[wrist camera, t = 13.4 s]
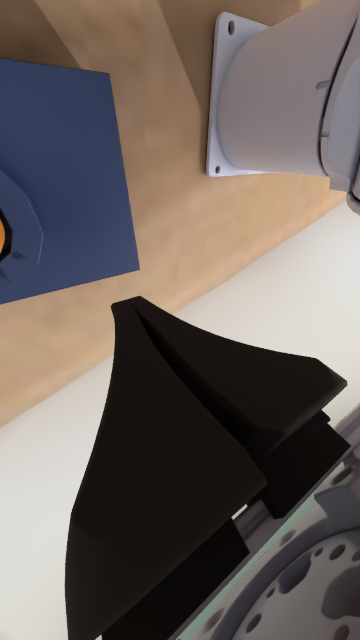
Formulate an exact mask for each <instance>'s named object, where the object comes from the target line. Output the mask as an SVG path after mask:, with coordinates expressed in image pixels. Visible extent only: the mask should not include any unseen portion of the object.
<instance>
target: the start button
mask: <svg viewBox="0 0 360 640" xmlns="http://www.w3.org/2000/svg"><path fill="white" fill-rule="evenodd" d="M4 240H5V231H4V227H3V224H2V221H1V219H0V253H1V250H2V247H3V244H4Z"/></svg>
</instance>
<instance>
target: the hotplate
mask: <svg viewBox="0 0 360 640" xmlns="http://www.w3.org/2000/svg"><path fill="white" fill-rule="evenodd" d="M0 219H1V221H2V224H3V227H4V231H5V240H4V244H3V247H2V250H1V253H0V304H4V303H8V302H12V301H16V300H20V299H24V298H28V297H32V296H36V295H40V294H44V293H48V292H52V291H56V290H60V289H64V288H68V287H72V286H76V285H80V284H85V283H89V282H93V281H97V280H101V279H105V278H109V277H113V276H117V275H121V274H125V273H129V272H133V271H137V270H140V266H139V260H138V253H137V247H136V240H135V234H134V228H133V221H132V215H131V209H130V202H129V196H128V189H127V183H126V177H125V170H124V164H123V157H122V151H121V145H120V138H119V132H118V126H117V119H116V113H115V106H114V100H113V94H112V87H111V81H110V75H109V73H104V72H96V71H89V70H82V69H75V68H68V67H61V66H54V65H47V64H39V63H32V62H25V61H18V60H11V59H4V58H0Z"/></svg>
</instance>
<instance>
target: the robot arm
mask: <svg viewBox="0 0 360 640" xmlns="http://www.w3.org/2000/svg"><path fill="white" fill-rule="evenodd" d="M228 25H230V34H229V32H228ZM216 167H217V172H215V168H216ZM276 172H277V173H289V174H301V175H314V176H326V177H330V190H338V191H347V195H346V200H347V204H348V206H349V208H350V209H351V210H352V211H354V212H355V213H357V214H358V215H360V0H320V1H318V2H317V3H315V4H313V5H311V6H309V7H307V8H305V9H303V10H302V11H300V12H298V13H296V14H294V15H292V16H290V17H288V18H287V19H285V20H283V21H281V22H279V23H277V24H275V25H273V26H272V27H271V26H268V25H265V24H261V23H258V22H255V21H252V20H249V19H246V18H243V17H240V16H237V15H234V14H231V13H228V12H223V13H221V14H220V15H219V16H218V17H217V20H216V24H215V37H214V52H213V67H212V83H211V98H210V114H209V129H208V145H207V160H206V174H207V176H209V177H221V176H234V175H248V174H262V173H276ZM111 310H112V313H113V316H114V321H115V348H114V360H113V368H112V374H111V380H110V385H109V390H108V395H107V399H106V403H105V407H104V411H103V415H102V419H101V422H100V426H99V429H98V433H97V436H96V440H95V443H94V447H93V450H92V453H91V456H90V459H89V462H88V465H87V468H86V471H85V474H84V477H83V480H82V483H81V485H80V488H79V491H78V494H77V497H76V500H75V503H74V506H73V509H72V512H71V517H70V525H69V533H68V541H67V551H66V563H65V601H66V614H67V629H68V640H95V639H96V638H97V637H99V636H100V635H102V640H176V638H177V637H178V636H179V635H180V634H181V633H182V632H183V631H184V630H185V629H186V628H187V627H188V626H189V625H190V624H191V623H192V621H193V620H194V619H195V618H196V617H197V616H198V615H199V614H200V613H201V612H202V610H204V609H205V607H206V606H207V605H208V604H209V603H210V602H211V601H212V600H213V599H214V598H215V597H216V595H218V593H219V592H220V591H221V590H222V589H223V588H224V587H225V586H226V585H227V584H228V583H229V582H230V581H231V580H232V579H233V577H234V576H235V575H236V574H237V573H238V572H239V571H240V570H241V569H242V568H243V567H244V566H245V565H246V564H247V563H248V561H249V560H250V559H251V558H252V557H253V556H254V555H255V554H256V553H257V552H258V551H259V549H260V548H261V547H263V545H264V544H265V543H266V542H267V541H268V540H269V539H270V538H271V537H272V536H273V535H274V534H275V533H276V532H277V530H278V529H279V528H280V527H281V526H282V525H283V524H284V523H285V522H286V521H287V520H288V518H289V517H291V515H292V514H293V513H294V512H295V511H296V510H297V509H298V508H299V507H300V506H301V505H302V504H303V503H304V502H305V500H306V499H307V498H308V497H309V496H310V495H311V494H312V493H313V492H314V491H315V490H316V489H317V490H316V492H315V494H314V499H315V500H316V501H317V503H318V504H317V505H316V506H315V507H314V508H313V509H312V510H311V511H310V512H309V513H307V514H306V515H305V516H304V517H303V518H302V519H301V520H300V521H299V522H298V523H297V524H295V525H294V526H293V527H292V528H291V529H290V530H289V531H288V532H287V533H286V534H285V535H284V536H283V537H282V538H280V539H279V540H278V541H277V542H276V543H275V544H274V545H273V546H272V547H271V548H270V549H269V550H268V551H267V552H266V553H265V554H264V555H263V556H262V557H261V558H260V559H259V560H258V561H257V562H256V563H255V564H254V565H253V566H252V567H251V568H250V569H249V570H248V571H247V572H246V573H245V575H244V576H243V577H242V578H241V579H240V580H239V581H238V583H237V584H236V585H235V586H234V587H233V588H232V590H231V591H230V592H229V593H228V595H227V596H226V597H225V598H224V599H223V601H222V602H221V603H220V604H219V606H218V607H217V608H216V610H215V611H214V612H213V613H212V615H211V616H210V617H209V619H208V620H207V621H206V622H205V624H204V625H203V626H202V627H201V629H200V630H199V631H198V633H197V634H196V635H195V637H194V638H193V639H192V640H360V403H359V404H358V405H357V406H356V407H355V408H354V409H353V410H352V411H351V412H350V413H348V414H347V415H346V416H345V417H344V418H343V419H342V420H341V421H340V422H339V423H338V424H337V425H336V426H334V427H333V428H332V427H331V426H330V425H329V424H328V422H329V421H330V417H329V416H328V415H326V414H325V413H324V412H323V411H322V410H321V409H322V408H323V407H325V406H326V405H327V404H328V403H329V402H330V401H331V400H332V399H333V398H334V397H336V395H338V394H339V393H340V392H341V391H342V390H343V389H344V388H345V387H346V386H347V381H346V380H345V379H343V378H342V377H341V376H340V375H338V374H337V373H335V372H334V371H333V370H331V369H330V368H329V367H327V366H326V365H324V364H323V363H322V362H321V361H319V360H318V359H316V358H311V357H306V356H299V355H294V354H288V353H282V352H277V351H272V350H268V349H264V348H259V347H254V346H251V345H247V344H243V343H240V342H236V341H233V340H230V339H227V338H224V337H221V336H218V335H215V334H212V333H210V332H207V331H205V330H202V329H200V328H198V327H195V326H193V325H191V324H189V323H187V322H184V321H182V320H180V319H179V318H177V317H175V316H173V315H171V314H169V313H168V312H166V311H164V310H162V309H161V308H159V307H157V306H156V305H154V304H152V303H151V302H149V301H148V300H146V299H144V298H143V297H141V296H137V297H134V298H130V299H127V300H123V301H120V302H116V303H113V304H112V305H111ZM342 461H343V463H344V467H342V468H340V469H338V470H336V471H335V472H333V470H334V469H335V468H336V467H337V466H338V465H339V464H340V463H341V462H342ZM331 472H333V473H331ZM245 504H247V506H248V507H247V508H246V509H245V510H244V511H243V512H241V513H240V514H239V515H238V516H237V517H236V518H235V519H234V520H233V519H232V518H231V517H232V516H233V515H234V514H235V513H236V512H237V511H239V510H240V509H241V508H242V507H243V506H244V505H245ZM178 640H180V639H178Z"/></svg>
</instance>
